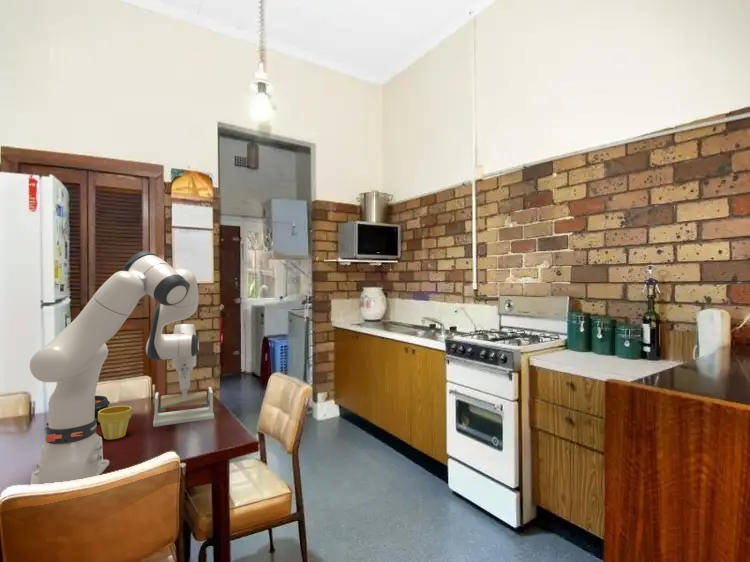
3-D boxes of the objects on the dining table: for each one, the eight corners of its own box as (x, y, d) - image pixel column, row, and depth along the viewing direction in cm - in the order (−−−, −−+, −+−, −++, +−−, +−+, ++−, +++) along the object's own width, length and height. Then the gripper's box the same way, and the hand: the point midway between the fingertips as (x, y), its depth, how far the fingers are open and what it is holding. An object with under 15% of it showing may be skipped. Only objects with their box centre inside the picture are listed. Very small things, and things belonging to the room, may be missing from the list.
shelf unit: (213, 418, 168) (214, 393, 168) (153, 426, 158) (153, 399, 158) (211, 410, 178) (211, 386, 178) (154, 417, 169) (154, 392, 169)
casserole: (66, 435, 149) (66, 412, 149) (34, 428, 156) (35, 406, 156) (130, 414, 172) (130, 395, 172) (100, 409, 179) (100, 390, 179)
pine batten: (206, 403, 170) (206, 393, 170) (160, 408, 163) (160, 398, 163) (206, 400, 173) (206, 391, 173) (161, 405, 166) (161, 395, 166)
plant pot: (121, 429, 155) (121, 403, 155) (137, 434, 150) (137, 407, 150) (91, 438, 146) (92, 411, 146) (107, 444, 141) (107, 415, 141)
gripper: (193, 366, 160) (193, 401, 160) (191, 357, 178) (191, 389, 178) (176, 367, 157) (175, 403, 157) (175, 358, 176) (175, 390, 176)
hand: (184, 395), depth 168 cm, fingers open, 8 cm apart
